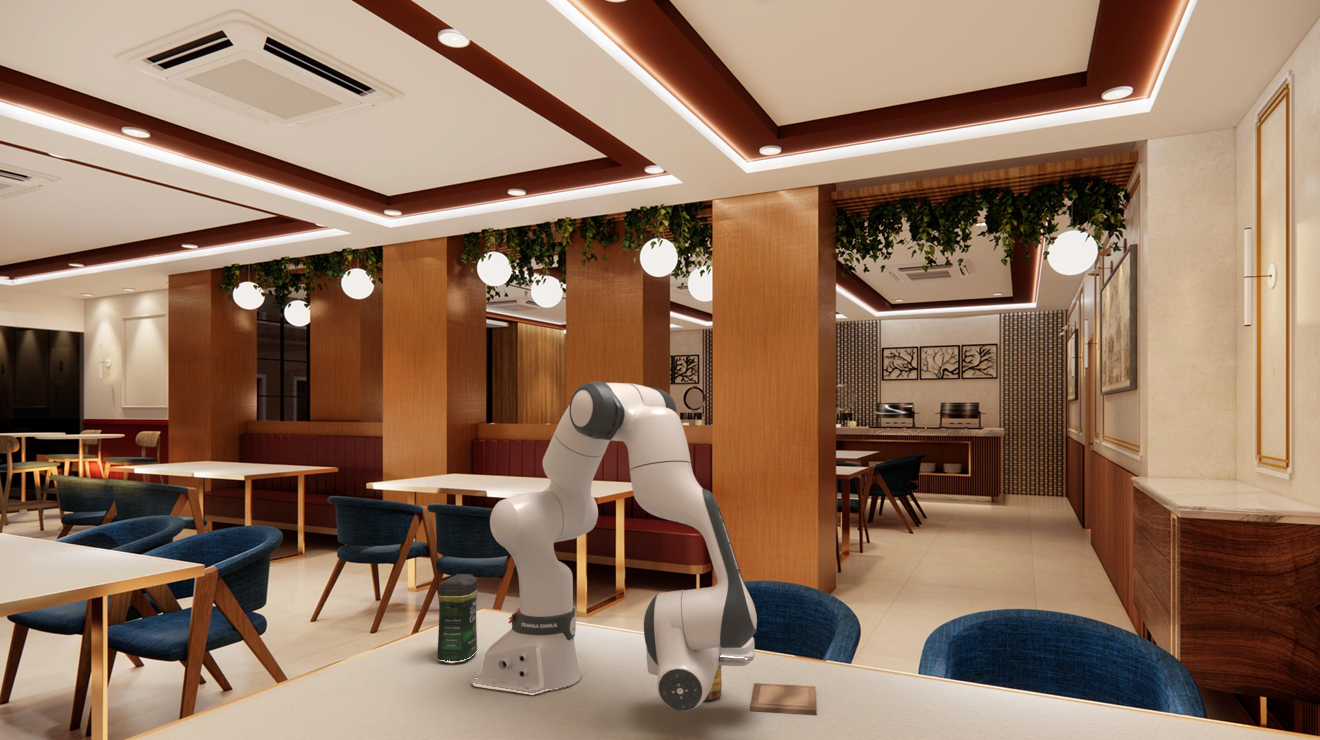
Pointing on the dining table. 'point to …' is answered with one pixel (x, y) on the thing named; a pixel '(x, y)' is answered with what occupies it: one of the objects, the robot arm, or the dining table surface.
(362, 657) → the dining table surface
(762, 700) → the trivet
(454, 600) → the coffee jar
